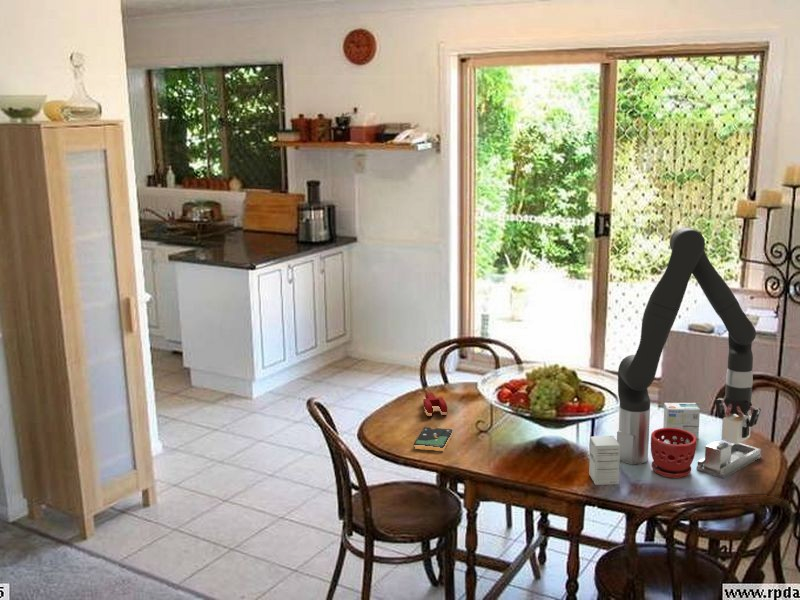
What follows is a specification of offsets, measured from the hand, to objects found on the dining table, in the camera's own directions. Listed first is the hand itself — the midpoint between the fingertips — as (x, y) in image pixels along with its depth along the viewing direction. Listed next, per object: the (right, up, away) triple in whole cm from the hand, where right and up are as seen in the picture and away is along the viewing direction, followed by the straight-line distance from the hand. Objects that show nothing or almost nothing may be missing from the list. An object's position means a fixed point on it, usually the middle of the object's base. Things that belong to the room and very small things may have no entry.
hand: (736, 434), depth 260 cm
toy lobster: (-92, 0, +53) cm, 106 cm away
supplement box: (-43, -12, -8) cm, 45 cm away
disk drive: (-93, -7, +23) cm, 96 cm away
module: (0, -1, 0) cm, 1 cm away
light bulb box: (-10, -4, +23) cm, 25 cm away
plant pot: (-21, -11, -5) cm, 24 cm away
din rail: (-2, -9, 0) cm, 9 cm away
